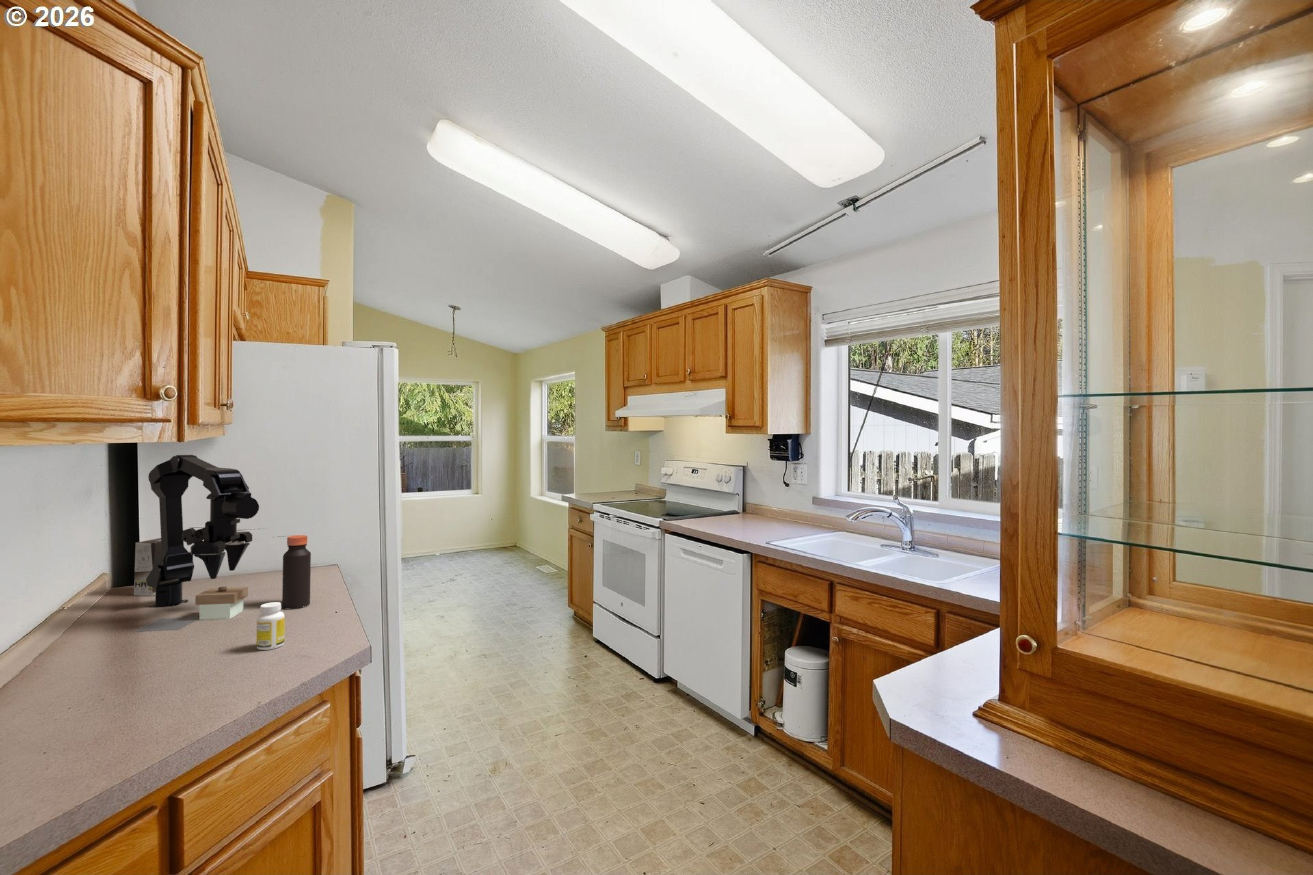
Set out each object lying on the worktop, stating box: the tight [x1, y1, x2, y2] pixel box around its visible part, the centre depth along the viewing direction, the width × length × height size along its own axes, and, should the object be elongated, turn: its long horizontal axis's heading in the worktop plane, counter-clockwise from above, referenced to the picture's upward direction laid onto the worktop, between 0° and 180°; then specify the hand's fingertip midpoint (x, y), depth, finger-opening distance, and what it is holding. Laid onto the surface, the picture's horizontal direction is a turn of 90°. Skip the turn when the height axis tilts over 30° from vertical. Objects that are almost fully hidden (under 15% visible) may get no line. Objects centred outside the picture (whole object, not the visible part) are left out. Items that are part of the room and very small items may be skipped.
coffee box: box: [133, 537, 161, 597], centre depth 174 cm, size 9×6×16 cm
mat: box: [132, 616, 199, 633], centre depth 144 cm, size 10×10×1 cm
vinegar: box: [281, 534, 312, 609], centre depth 163 cm, size 7×7×20 cm
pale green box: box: [198, 598, 244, 621], centre depth 152 cm, size 7×7×4 cm
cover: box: [194, 586, 249, 606], centre depth 152 cm, size 7×9×4 cm
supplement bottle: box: [256, 601, 286, 651], centre depth 132 cm, size 5×5×10 cm
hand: (222, 574), depth 152 cm, fingers open, 9 cm apart
